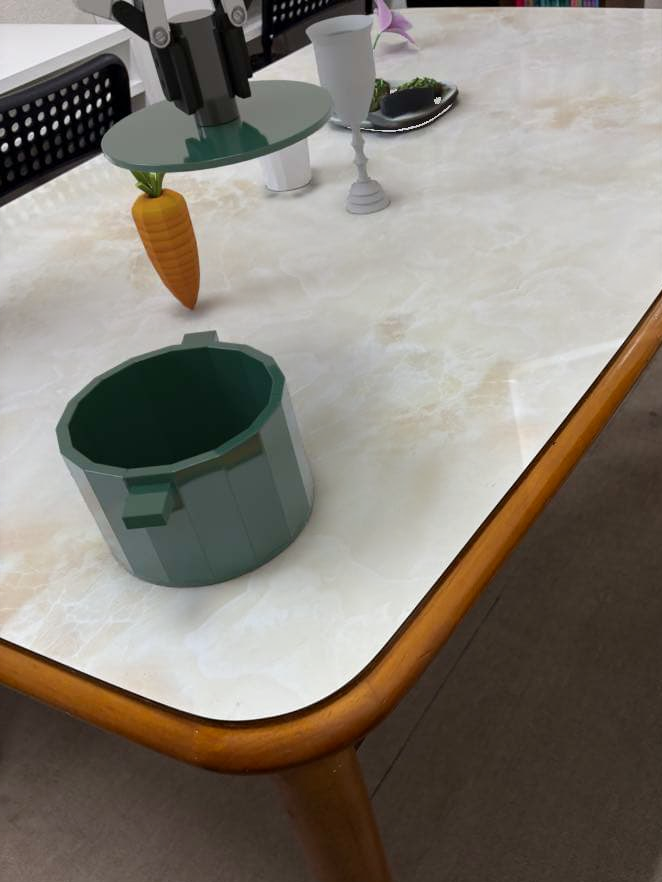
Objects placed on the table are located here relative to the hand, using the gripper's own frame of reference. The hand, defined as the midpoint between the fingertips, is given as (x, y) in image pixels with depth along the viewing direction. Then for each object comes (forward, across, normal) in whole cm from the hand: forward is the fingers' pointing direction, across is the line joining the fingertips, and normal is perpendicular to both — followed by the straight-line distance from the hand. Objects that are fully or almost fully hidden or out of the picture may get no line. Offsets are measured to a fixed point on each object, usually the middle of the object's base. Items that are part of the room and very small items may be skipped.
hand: (212, 99), depth 56 cm
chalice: (+23, -23, -28) cm, 43 cm away
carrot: (+23, +2, -20) cm, 30 cm away
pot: (+23, +11, +11) cm, 27 cm away
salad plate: (+23, -40, -53) cm, 70 cm away
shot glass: (+23, -19, -42) cm, 52 cm away
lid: (+2, 0, 0) cm, 2 cm away
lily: (+23, -56, -80) cm, 100 cm away
